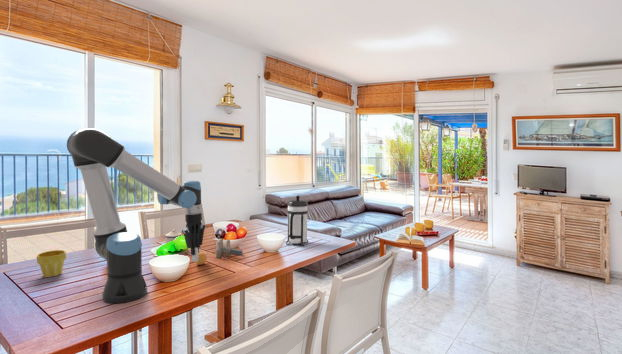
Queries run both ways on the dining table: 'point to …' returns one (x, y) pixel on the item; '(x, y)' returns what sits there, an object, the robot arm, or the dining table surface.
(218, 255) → the front pin
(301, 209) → the coffee press
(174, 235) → the teacup with lid
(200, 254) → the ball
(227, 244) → the back pin right
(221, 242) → the back pin left
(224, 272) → the dining table surface
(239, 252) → the back wall
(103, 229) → the robot arm
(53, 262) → the plant pot
